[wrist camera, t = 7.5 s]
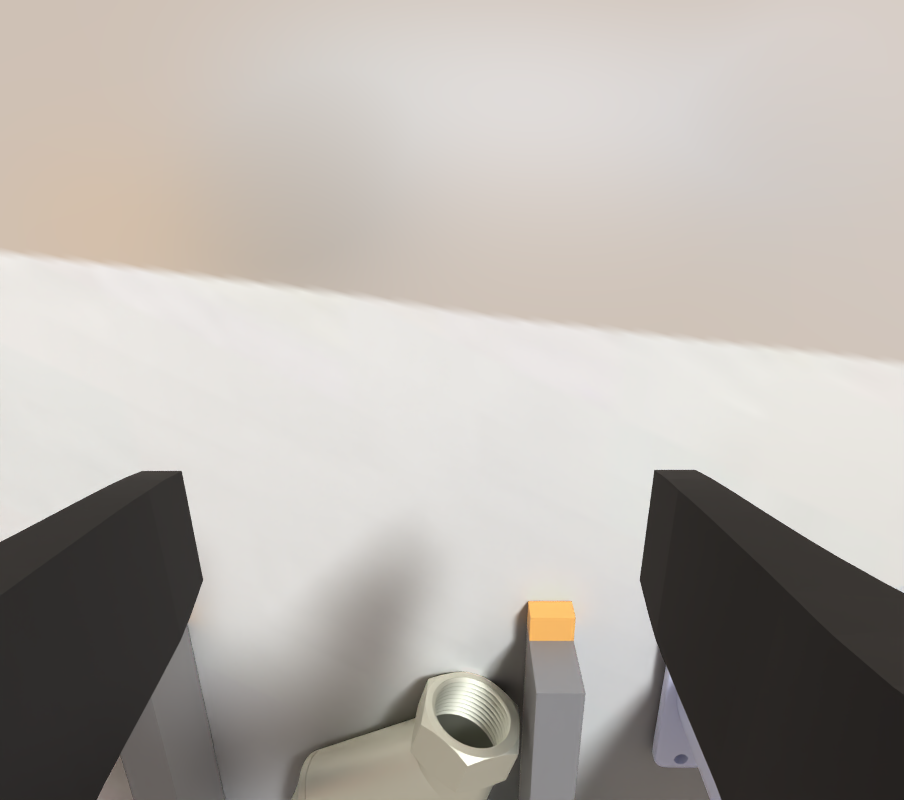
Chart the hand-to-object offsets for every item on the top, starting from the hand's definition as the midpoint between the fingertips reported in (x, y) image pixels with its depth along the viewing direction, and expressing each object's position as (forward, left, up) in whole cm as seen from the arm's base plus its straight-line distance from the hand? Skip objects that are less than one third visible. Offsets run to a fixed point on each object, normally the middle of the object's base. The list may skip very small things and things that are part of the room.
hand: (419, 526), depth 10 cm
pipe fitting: (+2, +16, -10) cm, 19 cm away
